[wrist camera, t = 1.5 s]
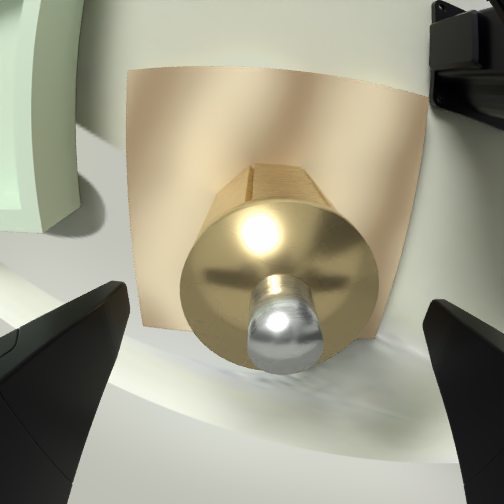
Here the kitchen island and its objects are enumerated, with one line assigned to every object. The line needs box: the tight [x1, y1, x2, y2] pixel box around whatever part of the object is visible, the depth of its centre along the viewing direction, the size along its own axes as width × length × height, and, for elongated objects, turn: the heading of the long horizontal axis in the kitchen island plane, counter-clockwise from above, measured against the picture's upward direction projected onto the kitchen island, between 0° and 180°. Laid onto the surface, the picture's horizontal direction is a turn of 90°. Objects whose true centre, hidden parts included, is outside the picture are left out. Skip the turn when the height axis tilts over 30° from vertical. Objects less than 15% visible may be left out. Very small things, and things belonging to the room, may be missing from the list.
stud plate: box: [126, 66, 429, 339], centre depth 14 cm, size 14×14×6 cm
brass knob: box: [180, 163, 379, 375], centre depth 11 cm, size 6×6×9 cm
